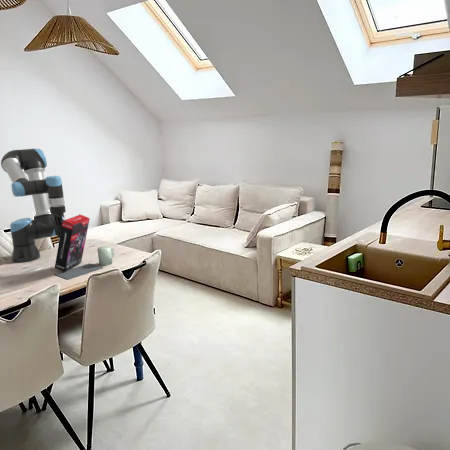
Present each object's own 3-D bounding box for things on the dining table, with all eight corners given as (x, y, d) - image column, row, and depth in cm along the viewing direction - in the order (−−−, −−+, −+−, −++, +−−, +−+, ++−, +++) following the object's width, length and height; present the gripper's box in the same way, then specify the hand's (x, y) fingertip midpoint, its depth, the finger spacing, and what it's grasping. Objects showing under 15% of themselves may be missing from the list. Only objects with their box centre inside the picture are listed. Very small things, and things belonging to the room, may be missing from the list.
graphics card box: (64, 272, 220) (74, 224, 213) (52, 268, 221) (62, 220, 214) (81, 263, 237) (91, 217, 230) (70, 258, 238) (79, 213, 231)
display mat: (54, 274, 219) (54, 274, 219) (89, 263, 235) (89, 263, 235) (67, 279, 211) (67, 279, 211) (103, 267, 227) (103, 267, 227)
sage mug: (96, 264, 233) (94, 248, 231) (110, 259, 240) (108, 244, 238) (104, 266, 229) (102, 250, 227) (118, 261, 236) (116, 246, 234)
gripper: (44, 205, 224) (50, 248, 229) (57, 207, 216) (63, 252, 221) (57, 203, 229) (63, 245, 235) (70, 205, 221) (76, 248, 227)
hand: (63, 248), depth 228 cm, fingers closed
